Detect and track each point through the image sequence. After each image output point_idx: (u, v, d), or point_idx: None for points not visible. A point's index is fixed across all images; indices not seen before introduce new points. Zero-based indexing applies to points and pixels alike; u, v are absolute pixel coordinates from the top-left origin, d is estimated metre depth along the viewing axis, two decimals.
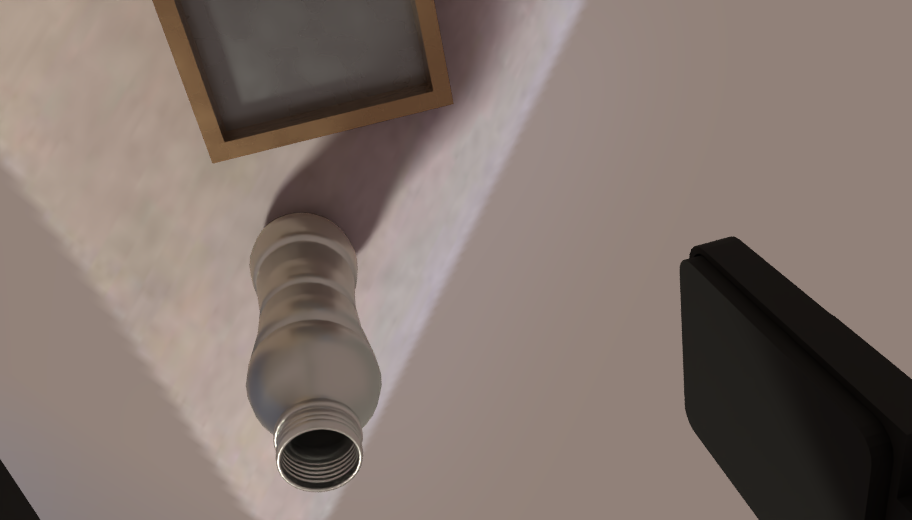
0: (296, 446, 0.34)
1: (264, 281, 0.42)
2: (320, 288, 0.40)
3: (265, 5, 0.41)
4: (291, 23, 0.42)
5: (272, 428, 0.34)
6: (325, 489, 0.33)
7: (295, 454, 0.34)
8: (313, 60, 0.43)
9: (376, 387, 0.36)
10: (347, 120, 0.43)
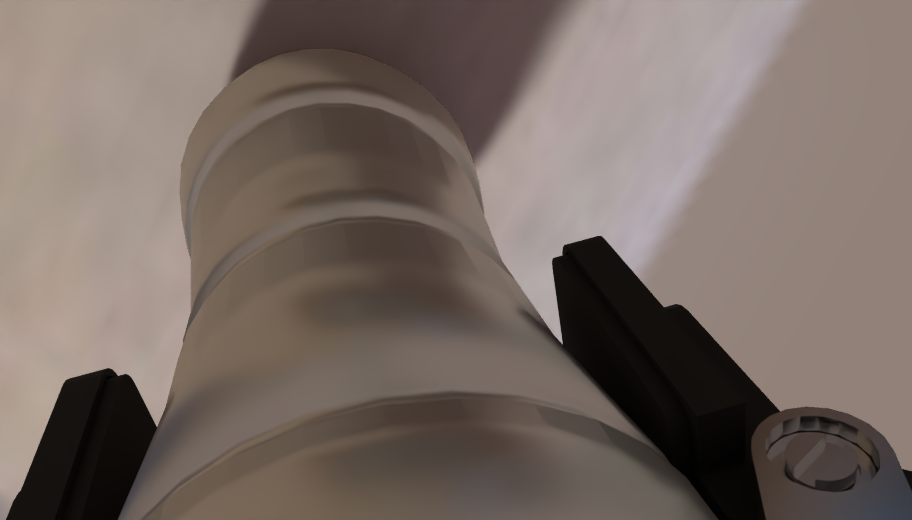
0: None
1: (208, 224, 0.12)
2: (424, 238, 0.10)
3: None
4: None
5: None
6: None
7: None
8: None
9: None
10: None
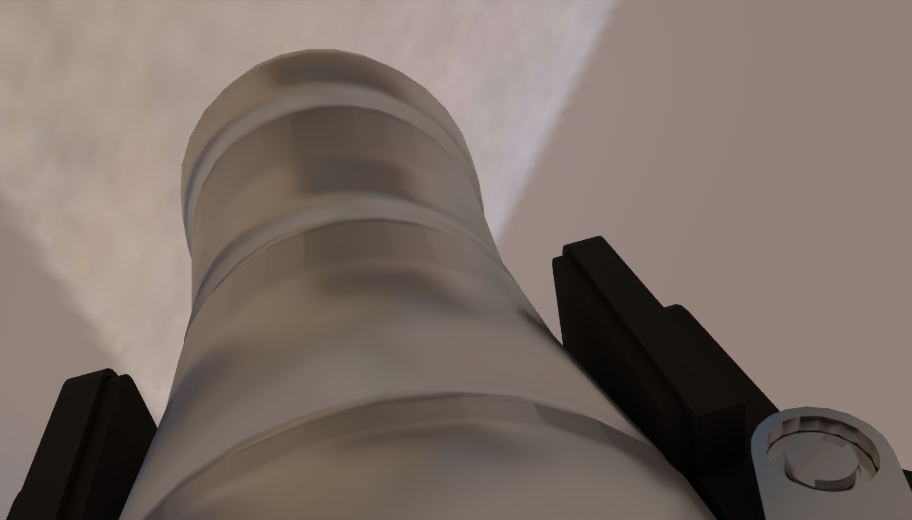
0: None
1: (210, 224, 0.12)
2: (424, 238, 0.10)
3: None
4: None
5: None
6: None
7: None
8: None
9: None
10: None
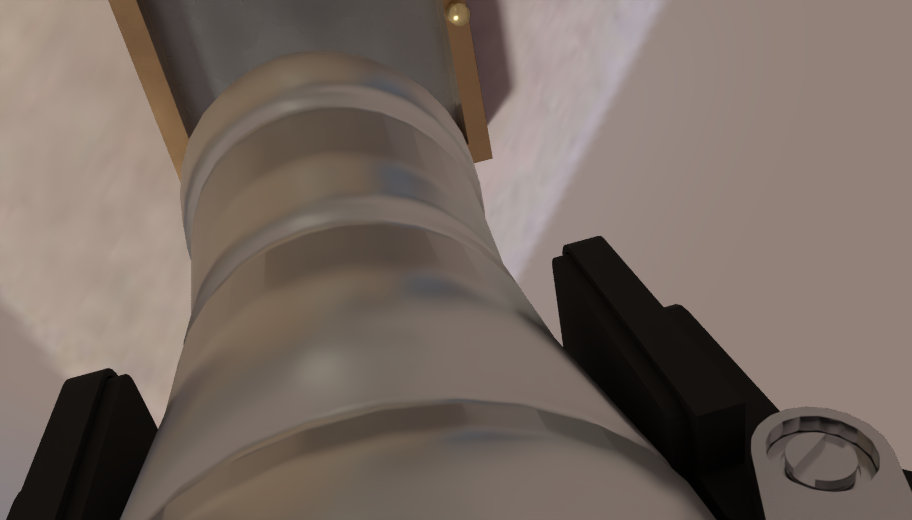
0: None
1: (209, 225, 0.12)
2: (425, 241, 0.10)
3: (265, 41, 0.33)
4: None
5: None
6: None
7: None
8: None
9: None
10: None
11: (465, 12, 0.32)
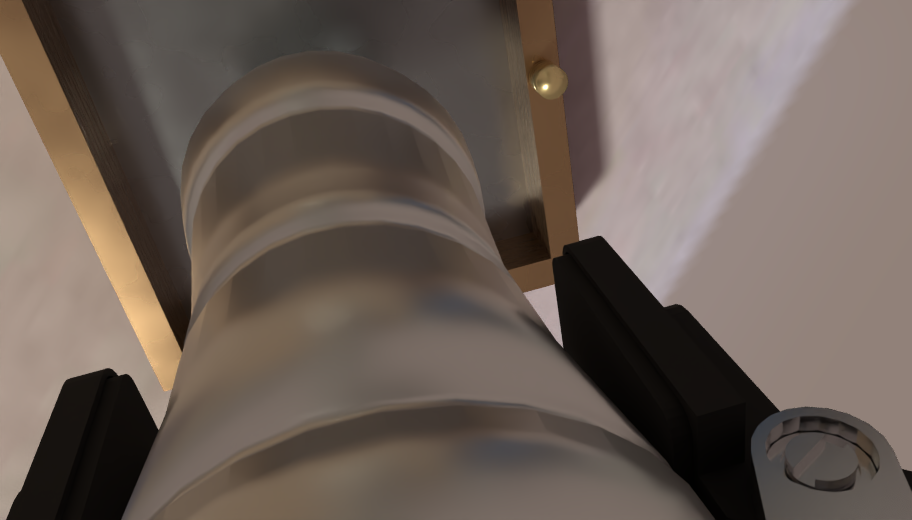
0: None
1: (210, 227, 0.12)
2: (426, 243, 0.10)
3: None
4: None
5: None
6: None
7: None
8: None
9: None
10: None
11: (561, 79, 0.21)
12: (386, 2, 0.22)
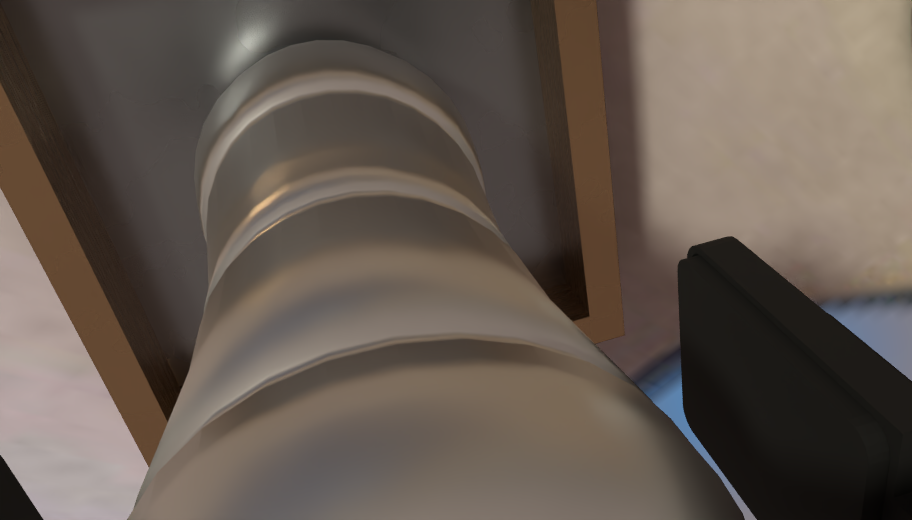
0: None
1: (226, 202, 0.13)
2: (431, 211, 0.10)
3: None
4: None
5: None
6: None
7: None
8: None
9: None
10: (75, 279, 0.18)
11: None
12: None
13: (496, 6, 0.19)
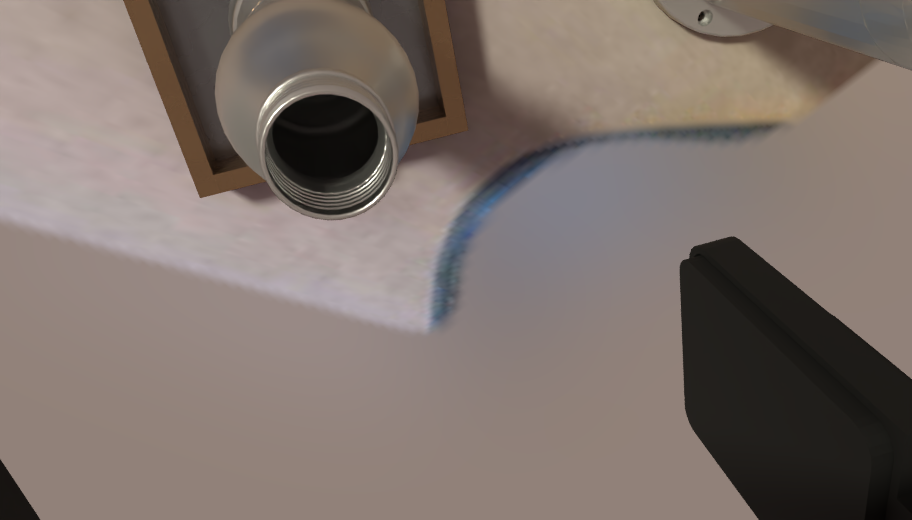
0: (291, 168, 0.22)
1: (247, 7, 0.30)
2: None
3: None
4: None
5: (254, 142, 0.22)
6: (338, 216, 0.20)
7: (290, 175, 0.22)
8: None
9: (413, 100, 0.24)
10: (165, 76, 0.35)
11: None
12: None
13: None
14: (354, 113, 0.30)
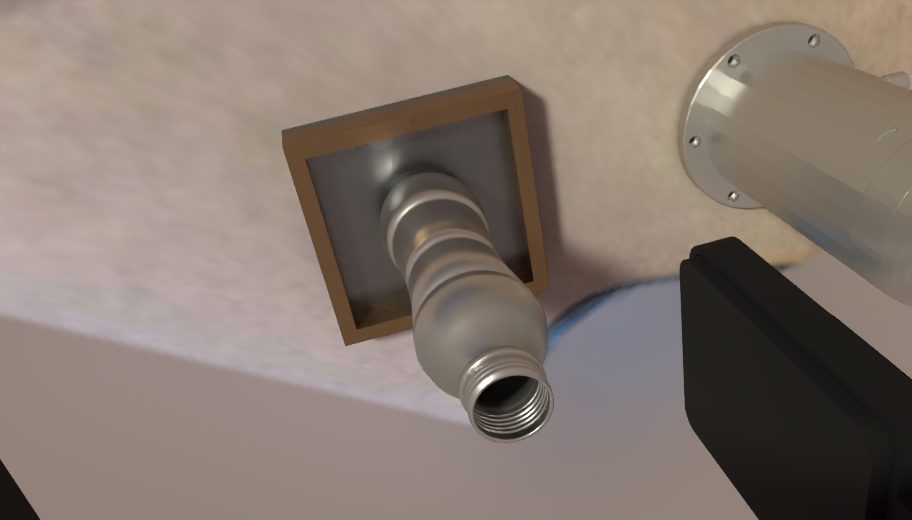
0: None
1: (408, 237, 0.41)
2: (475, 242, 0.39)
3: None
4: None
5: (448, 379, 0.33)
6: (512, 440, 0.32)
7: (475, 405, 0.33)
8: (372, 223, 0.48)
9: (547, 340, 0.35)
10: (328, 264, 0.46)
11: None
12: None
13: (493, 153, 0.47)
14: None
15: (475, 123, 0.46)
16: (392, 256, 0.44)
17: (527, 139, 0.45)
